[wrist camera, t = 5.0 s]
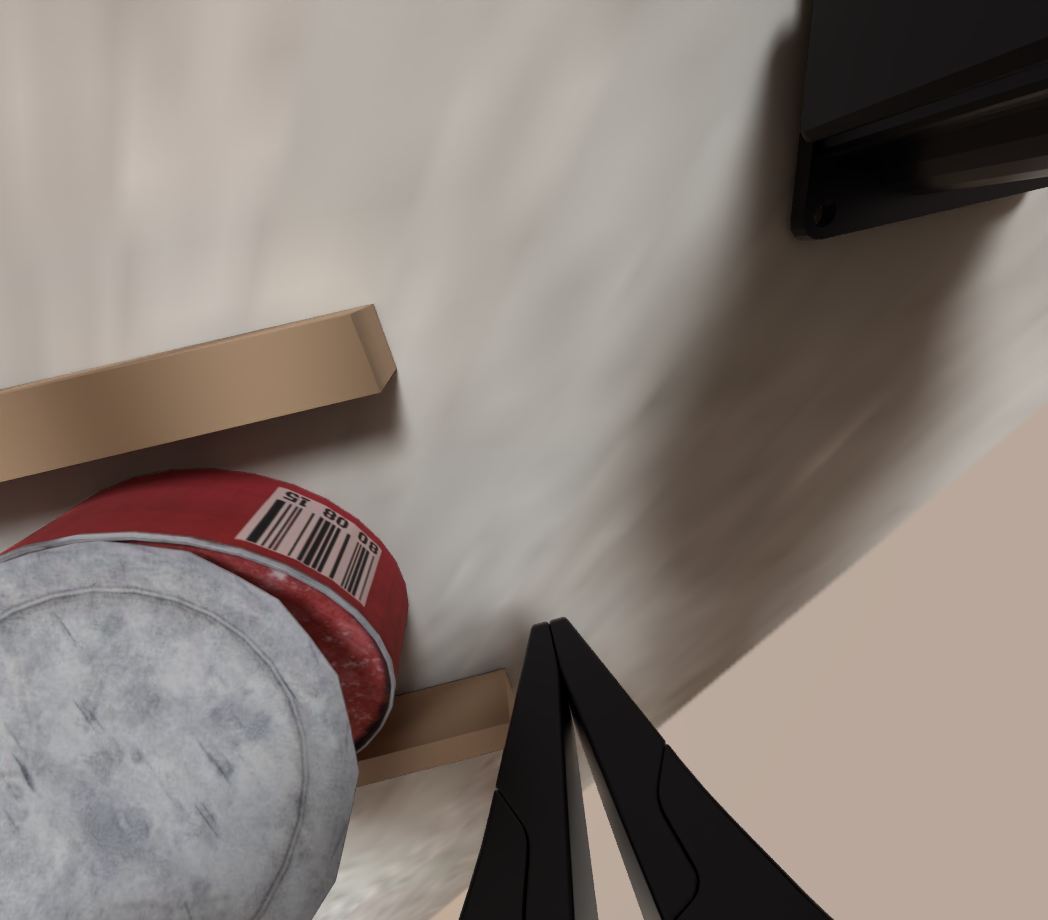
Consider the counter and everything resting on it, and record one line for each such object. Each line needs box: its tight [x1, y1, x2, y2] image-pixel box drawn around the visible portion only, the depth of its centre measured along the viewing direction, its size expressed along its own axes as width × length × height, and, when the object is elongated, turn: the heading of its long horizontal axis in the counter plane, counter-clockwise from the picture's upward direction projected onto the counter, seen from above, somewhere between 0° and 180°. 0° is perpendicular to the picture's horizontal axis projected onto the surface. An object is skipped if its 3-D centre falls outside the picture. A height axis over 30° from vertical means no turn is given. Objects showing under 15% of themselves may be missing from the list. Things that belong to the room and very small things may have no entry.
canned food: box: [0, 468, 408, 920], centre depth 10 cm, size 11×10×10 cm
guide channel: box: [0, 304, 514, 787], centre depth 11 cm, size 22×15×2 cm
